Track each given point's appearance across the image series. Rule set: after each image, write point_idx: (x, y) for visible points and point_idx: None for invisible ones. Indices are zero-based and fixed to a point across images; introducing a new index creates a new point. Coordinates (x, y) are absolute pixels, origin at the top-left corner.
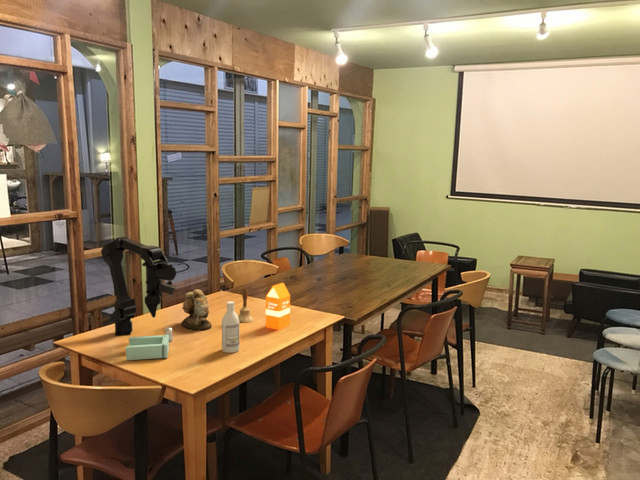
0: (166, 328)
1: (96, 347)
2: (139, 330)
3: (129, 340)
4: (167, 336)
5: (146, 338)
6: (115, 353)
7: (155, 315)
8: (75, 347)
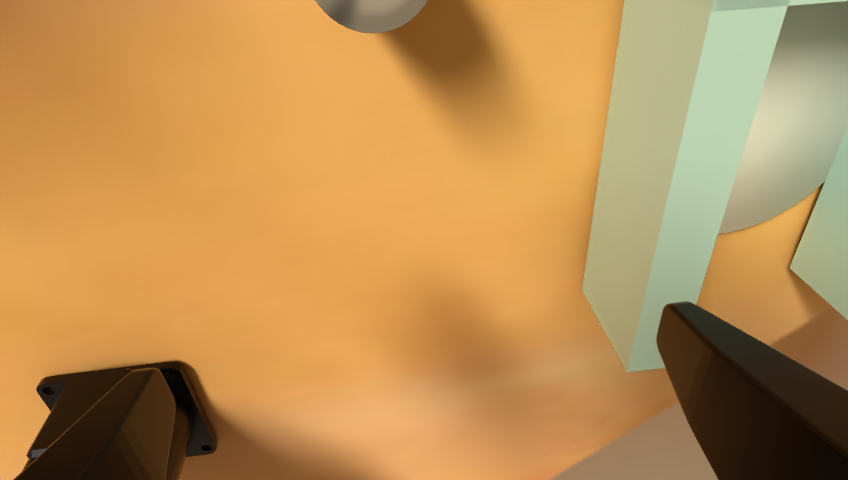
0: (380, 1)
1: (465, 467)
2: (24, 319)
3: None
4: None
5: (718, 216)
6: None
7: (724, 321)
8: None
